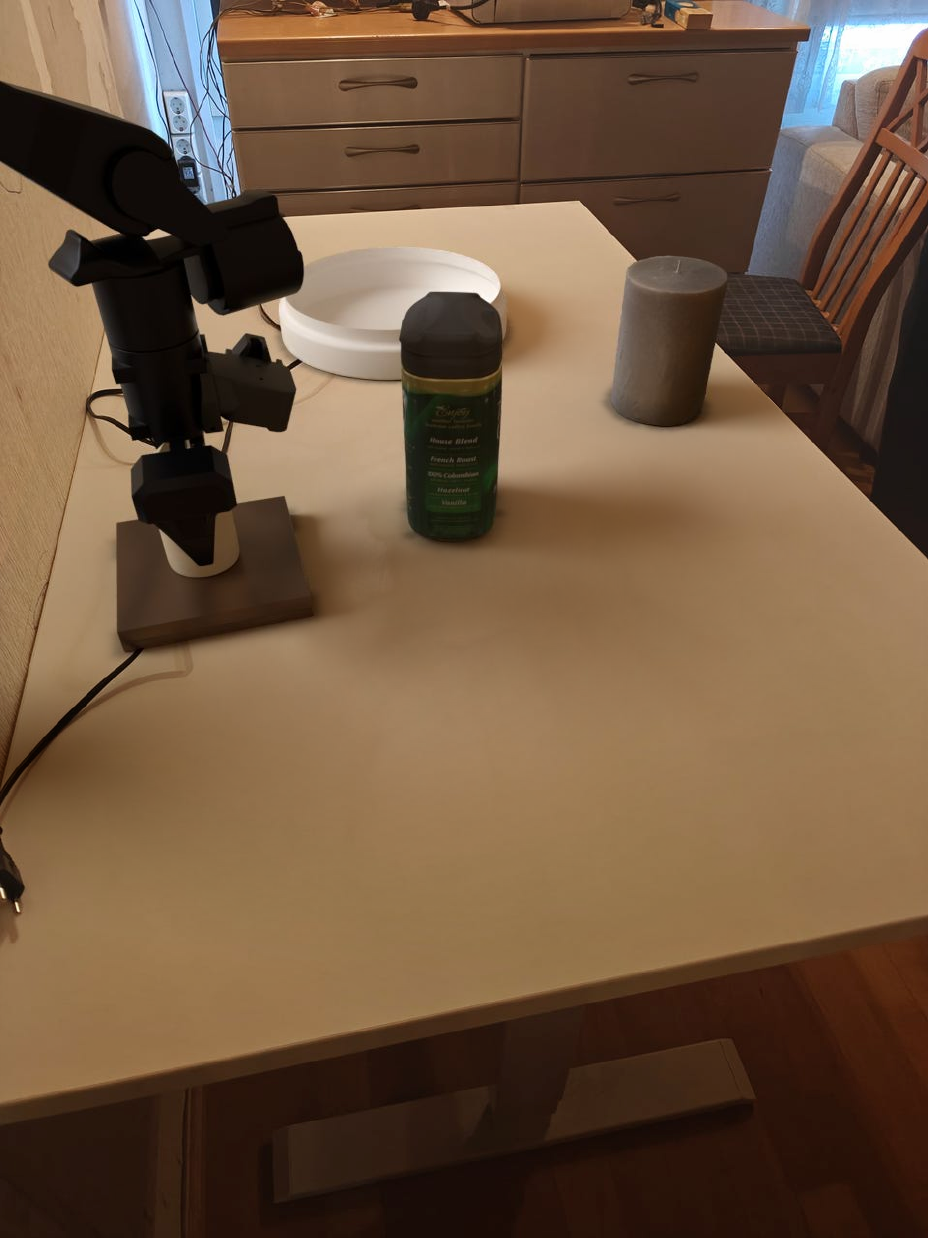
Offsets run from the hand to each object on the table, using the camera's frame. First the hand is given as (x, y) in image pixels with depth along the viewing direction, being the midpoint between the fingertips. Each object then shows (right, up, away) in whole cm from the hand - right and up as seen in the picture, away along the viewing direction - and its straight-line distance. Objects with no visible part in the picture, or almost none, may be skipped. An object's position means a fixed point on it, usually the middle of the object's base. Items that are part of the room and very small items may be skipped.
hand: (201, 528), depth 67 cm
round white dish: (+12, +28, +39) cm, 49 cm away
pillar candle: (+40, +16, +25) cm, 50 cm away
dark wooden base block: (0, -4, +3) cm, 5 cm away
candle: (0, -2, +2) cm, 3 cm away
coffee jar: (+19, +2, +10) cm, 22 cm away
